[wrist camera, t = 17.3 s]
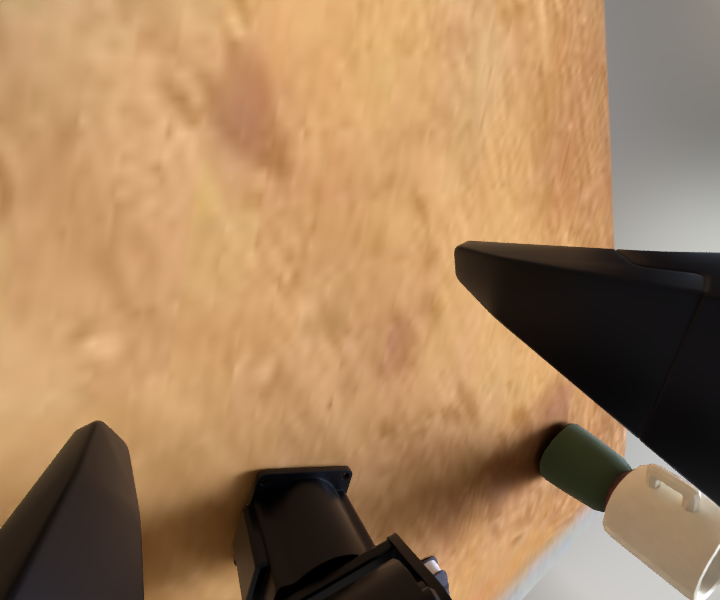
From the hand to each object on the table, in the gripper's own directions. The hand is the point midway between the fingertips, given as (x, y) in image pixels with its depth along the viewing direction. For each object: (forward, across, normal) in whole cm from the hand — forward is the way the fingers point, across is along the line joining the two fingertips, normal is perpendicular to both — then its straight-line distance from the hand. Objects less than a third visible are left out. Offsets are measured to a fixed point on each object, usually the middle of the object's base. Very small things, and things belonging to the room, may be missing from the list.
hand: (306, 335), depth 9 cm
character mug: (+6, -20, +32) cm, 38 cm away
